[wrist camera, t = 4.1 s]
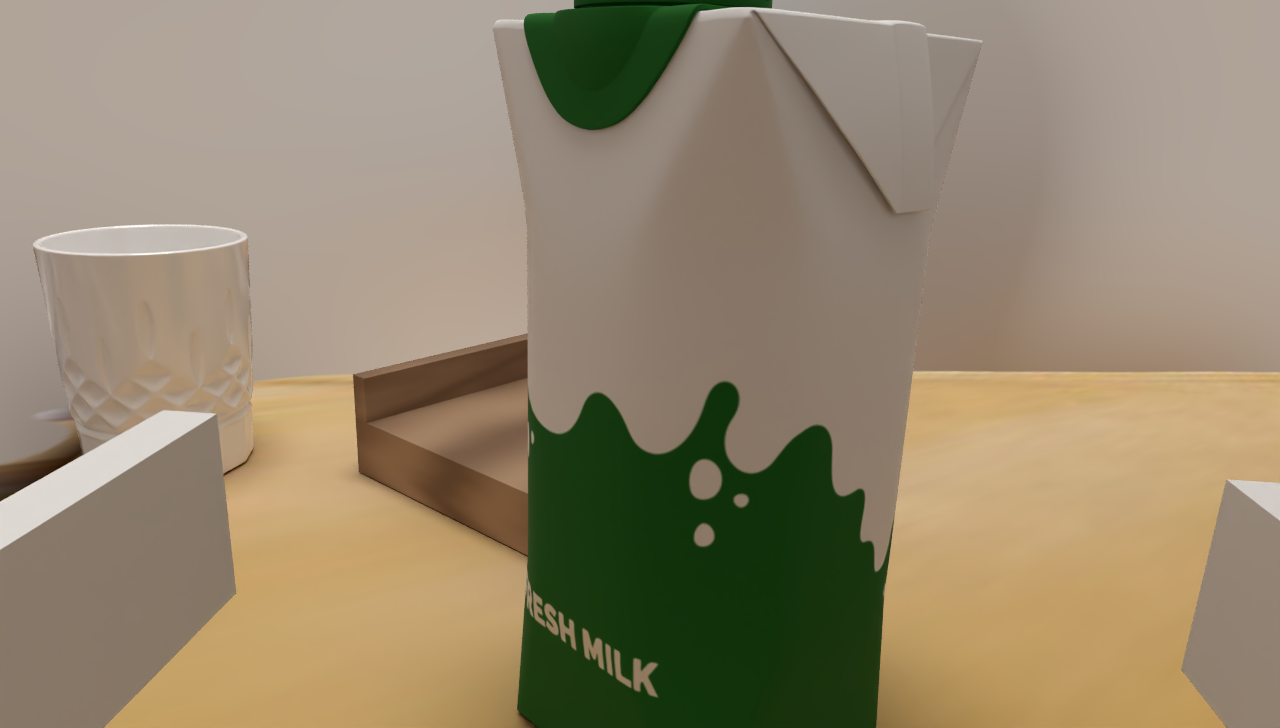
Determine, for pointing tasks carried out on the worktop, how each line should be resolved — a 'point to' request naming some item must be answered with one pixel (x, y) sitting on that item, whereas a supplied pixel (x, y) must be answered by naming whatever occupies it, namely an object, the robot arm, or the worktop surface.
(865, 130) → the white two-tone container
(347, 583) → the worktop surface
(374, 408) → the wooden tray
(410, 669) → the worktop surface
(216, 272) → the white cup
